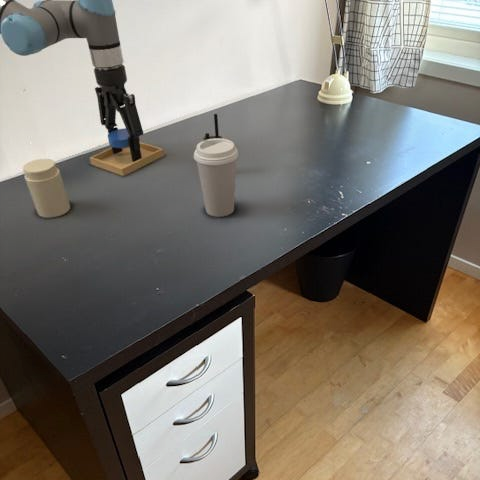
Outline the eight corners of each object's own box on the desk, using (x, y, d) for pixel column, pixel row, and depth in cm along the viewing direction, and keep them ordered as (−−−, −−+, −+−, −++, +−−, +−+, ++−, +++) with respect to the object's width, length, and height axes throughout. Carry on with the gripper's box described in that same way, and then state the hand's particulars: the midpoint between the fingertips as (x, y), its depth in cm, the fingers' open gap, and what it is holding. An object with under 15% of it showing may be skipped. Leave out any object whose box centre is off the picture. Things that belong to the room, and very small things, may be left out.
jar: (30, 211, 112) (14, 167, 105) (57, 198, 117) (43, 155, 109) (50, 221, 109) (34, 175, 101) (76, 207, 113) (63, 162, 106)
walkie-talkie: (206, 176, 123) (200, 116, 113) (206, 170, 125) (201, 112, 115) (224, 176, 122) (221, 116, 112) (225, 170, 125) (221, 111, 115)
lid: (145, 141, 129) (144, 132, 127) (121, 150, 124) (119, 142, 123) (127, 134, 133) (125, 126, 131) (103, 143, 129) (101, 135, 127)
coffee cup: (233, 196, 114) (230, 134, 104) (246, 215, 107) (244, 150, 97) (194, 204, 112) (187, 141, 102) (205, 223, 105) (199, 158, 95)
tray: (91, 164, 131) (89, 157, 130) (132, 145, 140) (130, 139, 138) (123, 176, 125) (121, 168, 123) (164, 155, 133) (163, 148, 132)
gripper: (147, 68, 113) (162, 161, 128) (97, 56, 124) (115, 142, 139) (122, 76, 109) (140, 171, 124) (72, 62, 120) (94, 151, 135)
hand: (127, 156), depth 131 cm, fingers closed on lid, 8 cm apart
